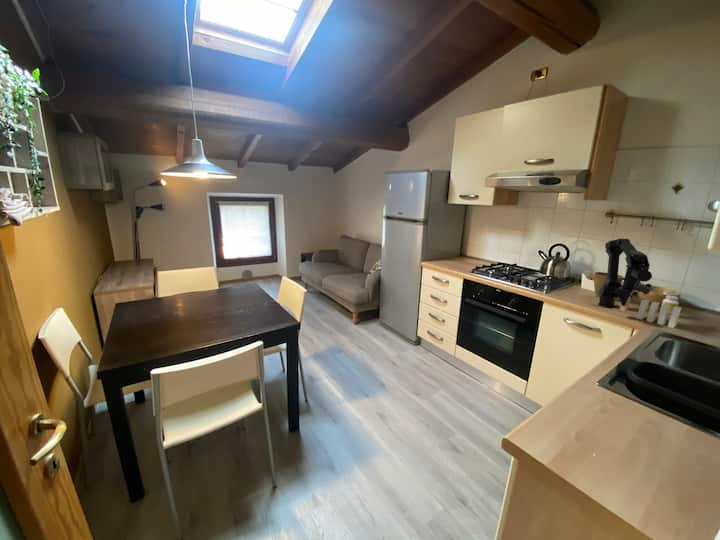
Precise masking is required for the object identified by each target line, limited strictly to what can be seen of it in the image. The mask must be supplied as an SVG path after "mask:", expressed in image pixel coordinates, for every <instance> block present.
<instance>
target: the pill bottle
mask: <svg viewBox="0 0 720 540" xmlns="http://www.w3.org/2000/svg"><path fill="white" fill-rule="evenodd" d="M678 300H679V297H678V296H676V295H668V294H666V296H665V298H664V299H663V300H662V301H661V304H660V305H661V306H660V310H659V312H660V311H661V308H662V305H664V304H668V305H670V308H669V312H668V315H667V317H669V318H670V317H671V314H672V311H673V308H674V307H676V306H677V307H679V305H680V303H679V301H678Z"/></svg>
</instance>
